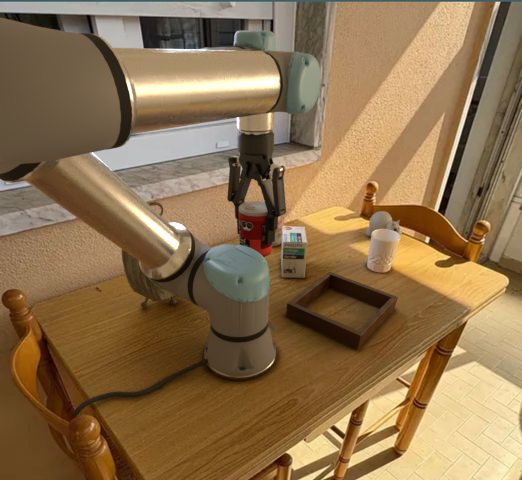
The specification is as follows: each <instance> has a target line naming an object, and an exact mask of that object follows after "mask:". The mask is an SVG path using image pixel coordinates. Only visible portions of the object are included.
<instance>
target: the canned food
mask: <svg viewBox="0 0 522 480" xmlns="http://www.w3.org/2000/svg"><path fill="white" fill-rule="evenodd" d="M268 215H269V214H268V211H267V208H266V204H265V201H259V200H253V201H251V200H250V201H246V202H245V203H242V204H241V205H240V206H239V234H238V235H239V245H243V246H247V247H249V248H252V249H254V250H256V251H257V252H259V253H260V254H261V255H262V256H263V257H264V258H265V257H268V256H269V255H271V253H272V250H273V246H272V243H270V244H269V245H266V244H265V227H266V216H268Z"/></svg>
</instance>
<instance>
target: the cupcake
mask: <svg viewBox="0 0 522 480" xmlns="http://www.w3.org/2000/svg"><path fill="white" fill-rule="evenodd" d="M283 226H285V221H284V220H283V218H281V216H279V217H278V228H277V230H275V241H274V242H272V247H278V246H280V245H282V227H283Z"/></svg>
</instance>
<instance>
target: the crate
mask: <svg viewBox="0 0 522 480" xmlns="http://www.w3.org/2000/svg"><path fill="white" fill-rule="evenodd" d="M328 289H331V290H334V291H337V292H339V293H342V294H344V295H346V296H349V297H352V298H354V299H357V300H359V301H362V302H365V303H367V304H369V305H372V306H375V307H377V308H379V309H378V310H377V312H375V314H374V315H372V317H370V318H369V319H368V320H367V322H366V323H365V324H363V326H362V327H361V328H359V330H357V329H355V328H352V327H350V326H348V325H345V324H343V323H341V322H338V321H336V320H334V319H332V318H329V317H327V316H325V315H322V314H320V313H317V312H316V311H314V310H311V309H309V308H307V307H306V306H308V305H309V304H310V303H311V302H313V301H314V300H316V298H318V297H319V296H321V295H322V294H323V293H324V292H325V291H327V290H328ZM398 298H399V297H398V296H397V295H393V294H392V293H388V292H386V291H383V290H380V289H378V288H375V287H372V286H370V285H367V284H364V283H361V282H359V281H356V280H353V279H350V278H348V277H346V276H342V275H340V274H337V273H334V272H333V271H332V272H331V271H328V272H327V273H325V274H324V275H323V276H322V277H320V278H319V279H317V280H316V281H314V282H313V283H312V284H311V285H310V286H308V287H307V288H305V289H304V290H303V291H302V292H300V293H299V294H297V295H296V296H294V297H293V298H292V299H291V300H289V301H288V302H286V314H285V316H286V317H285V318H288V319H290V320H292V321H294V322H296V323H299V324H301V325H303V326H305V327H306V328H309V329H312V330H314V331H316V332H317V333H320V334H322V335H325V336H326V337H329V338H331V339H333V340H335V341H337V342H340V343H342V344H344V345H345V346H348V347H350V348H353V349H355V350H357V351H358V350H359V349H360V348H361V347H362V346H363V344H365V342H366V341H367V340H368V339H370V337H371V336H372V335H373V334H374V333H375V331H376V330H377V329H378V328H379V327H380V326H381V325H382V324H383V323H384V322H385V321H386V320H387V319H388V318H389V316H391V314H392V313H393V312H394V311H395V308H396V304H397V301H398Z"/></svg>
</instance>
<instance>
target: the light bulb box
mask: <svg viewBox="0 0 522 480" xmlns="http://www.w3.org/2000/svg"><path fill="white" fill-rule="evenodd" d="M308 244H309V241H308V238H307V232H306V226H293V225H292V226H290V225H284V226H283V227H282V243H281V252H280V253H281V257H280V259H281V260H280V261H281V262H280V264H281V267H280V268H281V278H287V279H288V278H290V279H293V278H294V279H295V278H297V279H305V278H306V267H307V258H308V257H307V255H308V246H309V245H308Z"/></svg>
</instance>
